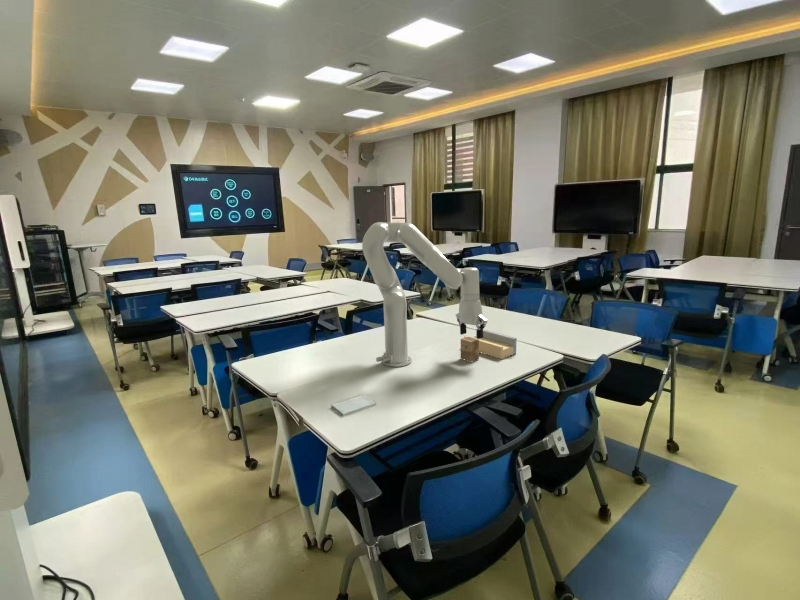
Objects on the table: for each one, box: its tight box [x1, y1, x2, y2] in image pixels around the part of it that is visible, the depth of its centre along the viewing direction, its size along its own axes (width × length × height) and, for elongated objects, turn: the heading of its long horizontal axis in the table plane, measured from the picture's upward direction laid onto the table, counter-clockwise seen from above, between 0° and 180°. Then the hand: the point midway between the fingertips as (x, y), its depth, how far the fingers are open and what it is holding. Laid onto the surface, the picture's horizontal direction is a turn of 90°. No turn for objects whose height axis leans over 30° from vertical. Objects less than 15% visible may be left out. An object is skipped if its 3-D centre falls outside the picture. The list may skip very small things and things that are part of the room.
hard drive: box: [330, 394, 377, 417], centre depth 135 cm, size 2×8×12 cm
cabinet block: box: [460, 336, 480, 363], centre depth 175 cm, size 6×6×9 cm
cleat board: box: [463, 328, 517, 360], centre depth 186 cm, size 10×22×8 cm, turn 36°
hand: (471, 336), depth 174 cm, fingers open, 9 cm apart
